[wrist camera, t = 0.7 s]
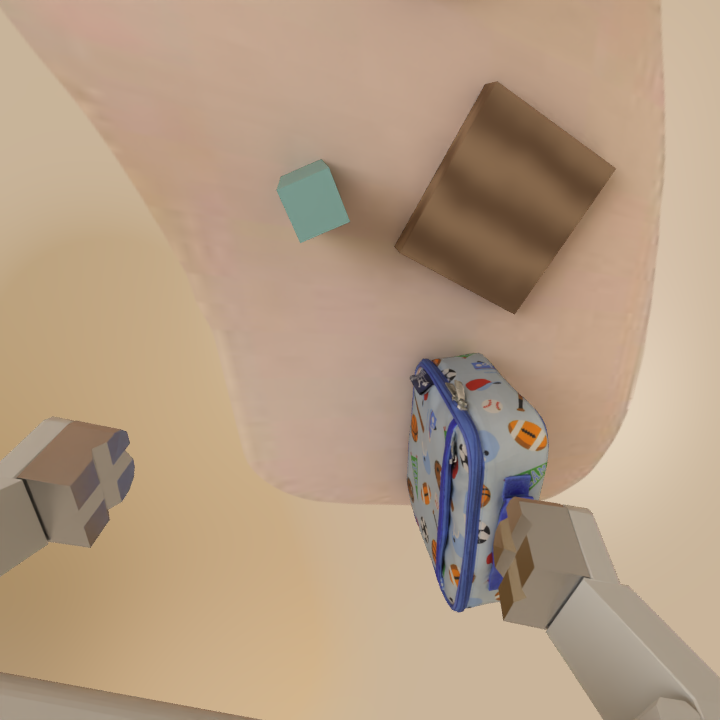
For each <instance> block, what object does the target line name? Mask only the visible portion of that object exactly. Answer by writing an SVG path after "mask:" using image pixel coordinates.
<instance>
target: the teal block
mask: <svg viewBox="0 0 720 720" xmlns="http://www.w3.org/2000/svg"><path fill="white" fill-rule="evenodd" d="M277 192H278V195H279V197H280V199H281V201H282V203H283V206H284V208H285V210H286V212H287V214H288V217H289V219H290V221H291V223H292V226H293V228H294V230H295V232H296V234H297V237H298V239H299V241H300V243H302V242H304V241H306V240H309V239H311V238H313V237H316V236H318V235H320V234H323V233H325V232H327V231H330V230H332V229H334V228H337V227H339V226H341V225H344V224H346V223H348V222H350V220H349V218H348V215H347V213H346V210H345V208H344V205H343V203H342V200H341V197H340V195H339V192H338V190H337V187H336V185H335V182H334V179H333V177H332V174H331V172H330V169H329V167H328V166H327V165H326V164H325V163H324V162H323V161H322V159H320V160H318V161H316V162H314V163H311V164H309V165H307V166H304V167H302V168H300V169H298V170H295V171H293V172H291V173H288V174H286V175H284V176H282V177H281V178H280V181H279V184H278V187H277Z"/></svg>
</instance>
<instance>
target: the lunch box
mask: <svg viewBox="0 0 720 720" xmlns="http://www.w3.org/2000/svg"><path fill="white" fill-rule="evenodd" d="M410 380H411V381H412V383H413V385H414V388H413V401H412V415H411V426H410V434H409V443H408V444H409V447H408V471H407V485H408V491H409V496H410V502H411V506H412V509H413V512H414V516H415V519H416V522H417V524H418V526H419V529H420V532H421V535H422V537H423V540H424V543H425V545H426V548H427V551H428V553H429V555H430V558H431V560H432V563H433V567H434V570H435V573H436V577H437V580H438V583H439V586H440V589H441V591H442V593H443V595H444V597H445V600H446V601H447V603H448V605H449V606H450V607H451V609H452V610H454V611H457V612H462V611H464V609H465V608H471V607H475V606H480V605H484V604H488V603H494V602H500V597H499V590H498V587H499V585H500V584H501V582H502V580H503V577H502V576H501V574H500V573H499V572H498V570H497V569H496V568H495V564H494V556H493V543H494V537H495V532H496V529H497V527H498V524H499V522H500V521H502V520H504V519H506V518H508V516H507V511H506V507H507V505H508V503H509V501H510V500H511V499H512V498H513V497H520V498H526V499H533V500H539V497H540V493H541V489H542V485H543V480H544V476H545V471H546V467H547V461H548V448H549V444H548V434H547V429H546V426H545V423H544V421H543V419H542V418H541V416H540V415H539V414H538V412H537V411H536V410H535V409H534V408H533V407H532V406H531V405H530V403H529V402H528V401H527V400H526V399H525V398H524V397H522V396H521V395H520V394H519V393H518V392H517V391H516V390H515V389H514V388H513V387H512V386H511V385H510V384H509V383H508V382H507V381H506V380H505V379H504V378H503V377H502V376H501V375H500V373H499V372H498V371H497V370H496V369H495V367H494V366H493V365H492V364H491V363H490V362H489V361H488V359H487V358H485V357H484V356H483V355H482V354H480V353H472V354H466V355H461V356H456V357H449V358H443V359H435V360H432V361H430V360H429V359H422V361H421V362H420V363H419V364H418V366H417V367H416V370H415V375H412V376H410Z"/></svg>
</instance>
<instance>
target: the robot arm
mask: <svg viewBox="0 0 720 720" xmlns="http://www.w3.org/2000/svg"><path fill="white" fill-rule="evenodd" d="M129 444H130V442H129V438H128V434H127V432H126V431H123V430H121V429H116V428H111V427H105V426H100V425H95V424H90V423H85V422H80V421H73V420H68V419H63V418H58V417H51V418H48V419H45V420H44V421H43V422H42V423H40V424H39V425H38V426H37V427H36V428H35V429H34V430H33V431H32V432H31V433H30V434H29V435H28V436H27V437H26V438H24V439H23V440H22V441H21V442H20V443H19V444H18V445H17V446H16V447H15V448H14V449H13V450H12V451H11V452H10V453H9V454H8V455H6V456H5V457H4V458H3V459H2V460H1V461H0V576H2V575H3V574H5V573H6V572H8V571H9V570H10V569H12V568H14V567H15V566H16V565H18V564H20V563H21V562H22V561H24V560H25V559H27V558H28V557H30V556H31V555H33V554H34V553H36V552H37V551H38V550H40V549H42V548H43V547H45V546H46V545H48V542H55V543H62V544H69V545H75V546H82V547H89V548H91V546H92V545H93V543H94V542H95V540H96V539H97V538H98V536H99V534H100V533H101V532H102V530H103V529H104V527H105V526H106V524H107V523H108V521H109V512H108V509H110V508H112V507H114V506H115V505H117V504H119V503H121V502H122V500H123V499H124V497H125V496H126V494H127V493H128V491H129V489H130V486H131V483H132V481H133V478H134V468H135V467H134V461H133V458H132V457H131V456H130V455H129V454H128V453H127V452H126V451H125V449H126V448H127V446H128V445H129ZM506 511H507V516H508V518H506V519H504V520H502V521H500V522H499V524H498V527H497V529H496V532H495V537H494V543H493V556H494V564H495V568H496V569H497V570H498V572H499V573H500V574H501V576H502V577H503V580H502V582H501V584H500V585H499V587H498V590H499V597H500V603H501V609H502V615H503V620H504V621H507V622H511V623H516V624H521V625H526V626H531V627H536V628H541V629H545V630H547V631H546V633H547V634H548V636H549V638H550V639H551V641H552V642H553V644H554V645H555V647H556V648H557V650H558V651H559V653H560V654H561V656H562V657H563V659H564V660H565V662H566V663H567V665H568V666H569V668H570V670H571V671H572V673H573V674H574V676H575V677H576V679H577V680H578V682H579V683H580V685H581V686H582V688H583V689H584V691H585V692H586V693H587V695H588V697H589V698H590V700H591V701H592V703H593V704H594V706H595V707H596V709H597V711H598V712H599V713H600V715H601V717H602V718H603V720H720V677H719V676H718V675H717V674H716V673H715V672H714V671H713V670H712V669H711V668H710V667H709V666H708V665H707V664H706V663H705V662H704V661H703V660H702V659H701V658H700V657H699V656H698V655H697V654H696V653H695V652H694V651H693V650H692V649H691V648H690V647H689V646H688V645H687V644H686V643H685V642H684V641H683V640H682V639H681V638H680V637H679V636H678V635H677V634H676V633H675V632H674V631H673V630H672V629H671V628H670V627H669V626H668V625H667V624H666V623H665V622H664V621H663V620H662V619H661V618H660V617H659V616H658V615H657V614H656V613H655V612H654V611H653V610H652V609H651V608H650V607H649V606H648V605H647V604H646V603H645V602H644V601H643V600H642V599H641V598H640V597H639V596H638V595H637V594H636V593H635V592H634V591H633V590H632V589H631V588H630V587H629V586H628V585H623V584H620V581H619V579H618V576H617V574H616V571H615V569H614V566H613V564H612V561H611V559H610V556H609V554H608V551H607V549H606V546H605V543H604V541H603V538H602V536H601V533H600V531H599V528H598V526H597V523H596V521H595V518H594V516H593V513H592V512H591V511H590V510H589V509H587V508H581V507H574V506H568V505H561V504H557V503H551V502H545V501H539V500H533V499H526V498H520V497H513V498H512V499H511V500H510V501H509V503H508V505H507V507H506ZM0 720H259V719H254V718H249V717H244V716H238V715H232V714H227V713H221V712H216V711H211V710H205V709H200V708H194V707H189V706H183V705H178V704H173V703H167V702H162V701H156V700H150V699H145V698H140V697H134V696H129V695H123V694H118V693H113V692H107V691H102V690H96V689H91V688H85V687H80V686H73V685H69V684H63V683H58V682H52V681H47V680H41V679H36V678H30V677H25V676H19V675H14V674H9V673H3V672H0Z"/></svg>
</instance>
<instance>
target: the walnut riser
mask: <svg viewBox="0 0 720 720" xmlns="http://www.w3.org/2000/svg"><path fill="white" fill-rule="evenodd" d="M615 170H616V168H614V167H613V166H612V165H610V164H609V163H608V162H606V161H605V160H604V159H602V158H601V157H599V156H598V155H597V154H595V153H594V152H593V151H591V150H590V149H589V148H587V147H586V146H584V145H583V144H582V143H580V142H579V141H578V140H576V139H575V138H574V137H572V136H571V135H570V134H568V133H567V132H565V131H564V130H563V129H561V128H560V127H559V126H557V125H556V124H555V123H553V122H552V121H550V120H549V119H548V118H546V117H545V116H544V115H542V114H541V113H540V112H538V111H537V110H535V109H534V108H533V107H531V106H530V105H529V104H527V103H526V102H525V101H523V100H522V99H520V98H519V97H518V96H516V95H515V94H514V93H512V92H511V91H510V90H508V89H507V88H506V87H504V86H503V85H501V84H500V83H499V82H492V83H488V84H485V86H484V88H483V89H482V91H481V93H480V95H479V96H478V98H477V100H476V102H475V104H474V105H473V107H472V109H471V111H470V113H469V114H468V116H467V118H466V120H465V121H464V123H463V125H462V127H461V129H460V130H459V132H458V134H457V136H456V138H455V139H454V141H453V143H452V145H451V146H450V148H449V150H448V152H447V154H446V155H445V157H444V159H443V161H442V163H441V164H440V166H439V168H438V170H437V171H436V173H435V175H434V177H433V179H432V180H431V182H430V184H429V186H428V188H427V189H426V191H425V193H424V195H423V196H422V198H421V200H420V202H419V204H418V205H417V207H416V209H415V211H414V213H413V214H412V216H411V218H410V220H409V221H408V223H407V225H406V227H405V229H404V230H403V232H402V234H401V236H400V238H399V239H398V241H397V243H396V245H395V246H394V247H395V248H396V249H397V250H398V251H399V252H400V253H401V254H403V255H405V256H407V257H409V258H411V259H412V260H414V261H416V262H418V263H420V264H422V265H424V266H425V267H427V268H429V269H431V270H433V271H435V272H437V273H438V274H440V275H442V276H444V277H446V278H448V279H450V280H451V281H453V282H455V283H457V284H459V285H461V286H463V287H464V288H466V289H468V290H470V291H472V292H474V293H476V294H477V295H479V296H481V297H483V298H485V299H487V300H489V301H490V302H492V303H494V304H496V305H498V306H500V307H502V308H503V309H505V310H507V311H509V312H511V313H513V314H515V313H516V312H517V310H518V309H519V307H520V306H521V304H522V303H523V301H524V300H525V299H526V297H527V296H528V294H529V293H530V291H531V290H532V289H533V287H534V286H535V284H536V283H537V281H538V280H539V279H540V277H541V276H542V274H543V273H544V271H545V270H546V269H547V267H548V266H549V264H550V263H551V261H552V260H553V258H554V257H555V256H556V254H557V253H558V251H559V250H560V248H561V247H562V246H563V244H564V243H565V241H566V240H567V238H568V237H569V236H570V234H571V233H572V231H573V230H574V228H575V227H576V225H577V224H578V223H579V221H580V220H581V218H582V217H583V215H584V214H585V213H586V211H587V210H588V208H589V207H590V205H591V204H592V203H593V201H594V200H595V198H596V197H597V195H598V194H599V193H600V191H601V190H602V188H603V187H604V185H605V184H606V182H607V181H608V180H609V178H610V177H611V175H612V174H613V172H614V171H615Z"/></svg>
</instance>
